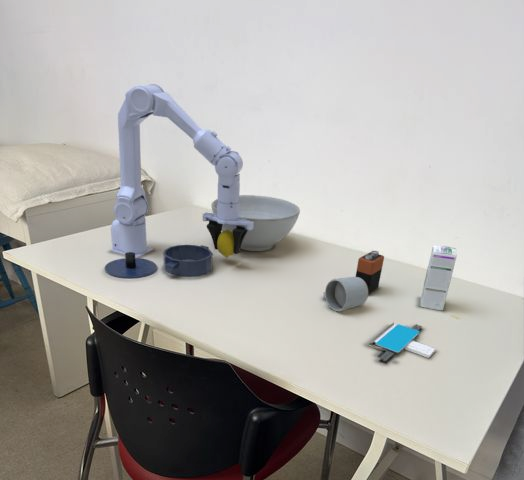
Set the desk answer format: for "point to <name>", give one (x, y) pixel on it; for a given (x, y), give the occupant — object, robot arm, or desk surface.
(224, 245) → the lemon
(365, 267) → the battery
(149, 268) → the pot lid
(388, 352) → the blue flat gadget
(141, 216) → the robot arm
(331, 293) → the ceramic mug
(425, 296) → the syrup box
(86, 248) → the desk surface
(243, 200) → the decorative bowl
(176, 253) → the pot
